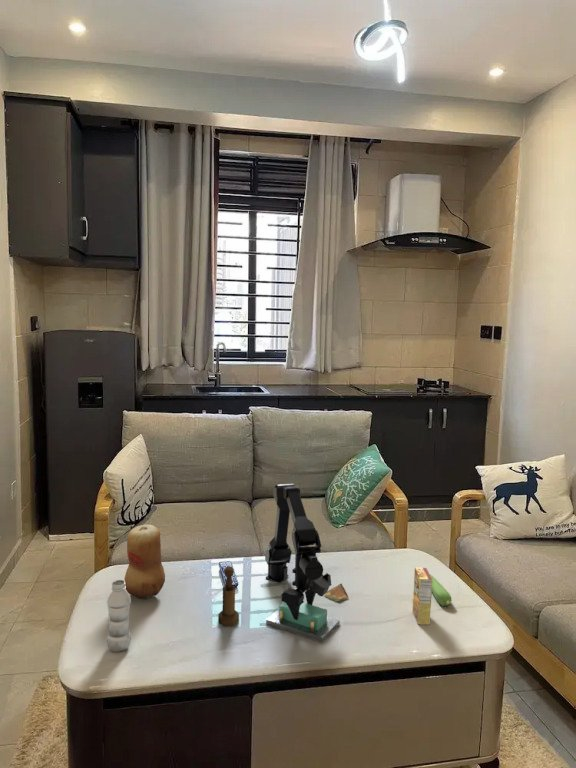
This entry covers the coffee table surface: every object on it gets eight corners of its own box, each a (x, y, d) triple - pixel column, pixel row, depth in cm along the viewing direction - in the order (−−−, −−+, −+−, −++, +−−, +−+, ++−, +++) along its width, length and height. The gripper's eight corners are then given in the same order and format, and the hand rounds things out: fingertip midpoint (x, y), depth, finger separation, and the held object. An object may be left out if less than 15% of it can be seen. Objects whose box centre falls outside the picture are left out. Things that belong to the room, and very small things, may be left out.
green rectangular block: (279, 617, 181) (279, 605, 181) (288, 609, 186) (289, 597, 186) (317, 630, 174) (318, 618, 173) (326, 621, 179) (327, 609, 179)
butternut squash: (116, 601, 193) (115, 530, 190) (140, 584, 205) (139, 517, 202) (150, 609, 187) (149, 536, 185) (173, 592, 200) (172, 523, 197)
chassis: (266, 623, 180) (266, 610, 179) (285, 607, 190) (285, 595, 190) (322, 642, 170) (322, 628, 170) (339, 624, 180) (339, 611, 180)
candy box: (411, 610, 190) (413, 567, 188) (424, 611, 190) (426, 567, 188) (417, 624, 181) (419, 578, 179) (430, 625, 181) (433, 579, 179)
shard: (341, 586, 207) (341, 582, 207) (358, 593, 202) (358, 588, 202) (323, 597, 199) (323, 592, 199) (341, 604, 194) (341, 599, 194)
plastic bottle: (109, 642, 168) (109, 577, 166) (133, 641, 168) (132, 577, 166) (104, 655, 161) (103, 588, 159) (129, 654, 162) (128, 587, 160)
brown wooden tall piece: (242, 618, 183) (242, 564, 181) (233, 628, 177) (234, 573, 175) (223, 614, 185) (223, 561, 183) (214, 624, 179) (214, 569, 177)
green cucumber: (438, 597, 191) (451, 593, 191) (421, 573, 211) (432, 569, 211) (442, 611, 192) (455, 607, 192) (424, 586, 211) (436, 582, 212)
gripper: (313, 583, 166) (311, 634, 168) (340, 561, 182) (338, 607, 184) (280, 574, 172) (279, 623, 173) (309, 553, 188) (308, 598, 189)
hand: (303, 613), depth 180 cm, fingers open, 9 cm apart
